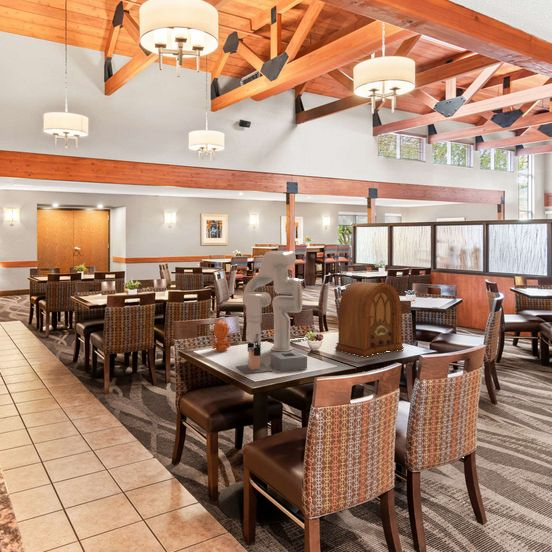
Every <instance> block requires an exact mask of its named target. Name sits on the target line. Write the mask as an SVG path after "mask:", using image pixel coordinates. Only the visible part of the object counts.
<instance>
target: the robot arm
mask: <svg viewBox="0 0 552 552" xmlns="http://www.w3.org/2000/svg"><path fill="white" fill-rule="evenodd" d="M296 260H297V257H296V254H295V252H294V251H292V250H269V251H266V252H265V253H264V255H263V257H262V260H261V262H260V266H259V270H258V273H257V275H255V276H254V277H252V278H251V279H250V280H249V281H248V282H247V283H246V285H245V287H244V291H243V294H242V303H243V305H244V306H245V307H246V308H245V309H246V314H245V315H246V320H245V322H246V328H245V330H246V331H245V340H246V341H247V348H248V347H255V348H254V356H260V357H261V355H262V353H261V351H262V348H261V347H262V346H261V345H262V337H261V335H262V328H261V327H262V326H261V323H262V321H263V320H262V319H263V318H262V315H263V314H262V312H263V308H266V307H268V306H269V305H271V302H272V309H273V333H274V340H273V346H271V347H270V348H271V350H272V351H275V352H289V351H294V347H293V346H291V343H290V334H291V318H290V316H289V315H288V313H294V314H296V313H297V314H298V313H300V312H301V311H302V310H303V290H302V289H303V288H302V282H301V280H300V279H299V278H296V277H289V272H288V271H289V270H288V269H289V268H292V267H294V265H295V263H296ZM272 282H273V290H274V292H275V293H276V294H277V296H275V297H273V299H272V297H271V294H270V293H269V292H265V291H256V289H258V288H260V287H262V286H266V285H268V284H270V283H272ZM278 294H279V295H278ZM247 352H248V353H249V350H248V349H247Z"/></svg>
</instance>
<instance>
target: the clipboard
mask: <svg viewBox="0 0 552 552" xmlns="http://www.w3.org/2000/svg"><path fill="white" fill-rule="evenodd" d="M304 337H305V336H301V335H298V334H292V333H290V339H295V338H304ZM263 338H264V339H268V340H271V339H272V341H274V336H271V337H267V336H264V337H263ZM301 340H304V339H298V340H291V341H290V342H292V343H302V342H301Z"/></svg>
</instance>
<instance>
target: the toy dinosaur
mask: <svg viewBox="0 0 552 552" xmlns="http://www.w3.org/2000/svg"><path fill="white" fill-rule="evenodd" d="M218 320H219V321H215V322H214V325H213V335H212V337H211V338H212V339H211V342H212V350H214V351H216V350H217V351H216V352H218V351H224V352H227V350H228V349H230V347H231V344H230V342H231V339H232V334H229V332H230V329H231V328H230V325H228V322H227V321H223V320H222V319H218ZM228 336H229V337H228ZM215 337H216V338H217V340H215ZM227 337H228V338H227ZM226 338H227V340H226Z"/></svg>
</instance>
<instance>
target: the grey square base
mask: <svg viewBox="0 0 552 552" xmlns="http://www.w3.org/2000/svg"><path fill="white" fill-rule="evenodd" d="M270 366H272V367H273V368H277V370H278V371H279V372H287V370H289V371H296V370H295V369H299V370H303V369H302V368H307V369H308V356H306V355H304V354H302V353H300V352H299V351H297V350H291V351H284V352H281V351H276V352H270Z"/></svg>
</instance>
